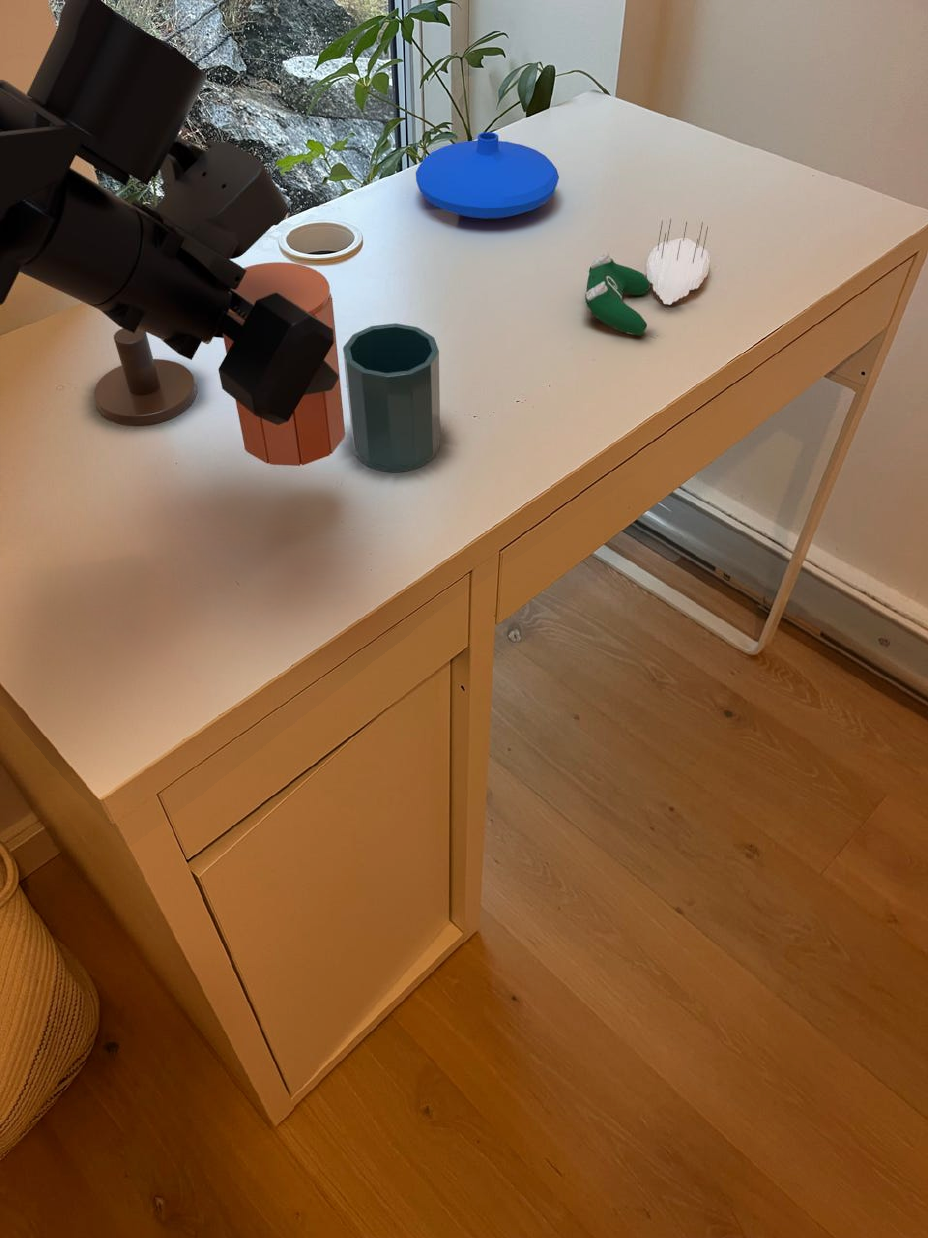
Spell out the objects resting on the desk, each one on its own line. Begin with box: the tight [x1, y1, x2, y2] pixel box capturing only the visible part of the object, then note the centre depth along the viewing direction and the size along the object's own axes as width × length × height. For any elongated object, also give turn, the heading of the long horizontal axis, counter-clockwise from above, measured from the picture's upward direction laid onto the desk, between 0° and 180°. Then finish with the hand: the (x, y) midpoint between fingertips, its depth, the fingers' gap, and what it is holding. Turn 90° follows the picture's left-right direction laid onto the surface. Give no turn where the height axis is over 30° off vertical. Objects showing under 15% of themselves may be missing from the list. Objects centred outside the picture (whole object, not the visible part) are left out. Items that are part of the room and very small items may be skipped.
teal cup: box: [342, 322, 441, 473], centre depth 76 cm, size 7×7×9 cm
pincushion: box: [645, 218, 711, 306], centre depth 96 cm, size 12×6×6 cm, turn 163°
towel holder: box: [93, 327, 197, 426], centre depth 82 cm, size 8×8×6 cm
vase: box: [415, 131, 560, 220], centre depth 106 cm, size 16×16×7 cm
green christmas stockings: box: [584, 252, 651, 337], centre depth 92 cm, size 9×4×6 cm
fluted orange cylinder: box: [222, 261, 346, 467], centre depth 64 cm, size 7×7×11 cm
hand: (301, 357), depth 65 cm, fingers closed on fluted orange cylinder, 7 cm apart
